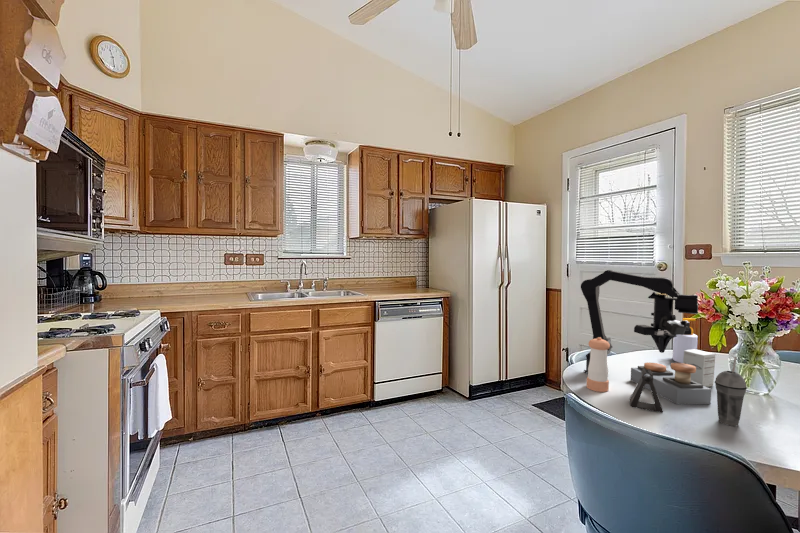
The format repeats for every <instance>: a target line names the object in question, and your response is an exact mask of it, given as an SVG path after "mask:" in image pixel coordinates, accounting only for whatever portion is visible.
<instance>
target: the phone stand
mask: <svg viewBox="0 0 800 533" xmlns="http://www.w3.org/2000/svg"><path fill="white" fill-rule="evenodd" d="M648 372H649V374H650V376H649V377H648V376H647V377H646V376H644V375H645V374H646V370H645V368H644V369H642V370H641V378H640V380H639V382H638V384H637V383H636V386H635V387H634V390H633V392H632V394H631V395H630V397H629V406H630V407H631V408H635V409H639V410H647V411H650V412H655V413H661V414H662V413H664V410H663V406H662V402H661V400H660V397H659V395H658V394H657V392H656V389H655V387H654V384H653V375H652V372H651V370H650V369H648ZM645 384H649V385H650V388H651V391H650V392H651V395H652V399H653V402H654V403H650V402H645V401H641V400H640V399H641V396H642V393H643V391H644V388H645V387H644V386H645Z"/></svg>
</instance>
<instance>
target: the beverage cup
mask: <svg viewBox="0 0 800 533" xmlns="http://www.w3.org/2000/svg"><path fill="white" fill-rule="evenodd" d="M737 359H738V358H737V356H734V359H733V363H732V369H731V370H724V371H721V372H720V373H718V374H717V375H716V377H715V381H714V384H715V390H716V402H717V405H716V406H717V417H718V422H719V423H721V424H723V425H727V426H731V427H738V426H739V423H740V419H741V414H742V410H743V402H744V396H745V395H746V391H747V389H748V388H747V382H746V380H745V378H744V377H743V376H742V375H740V374H739V373H738V372H735V371H736V370H735V369H736V364H737Z"/></svg>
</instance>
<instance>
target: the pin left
mask: <svg viewBox="0 0 800 533" xmlns="http://www.w3.org/2000/svg"><path fill="white" fill-rule="evenodd" d="M643 366H644V368H645V369H647V370H648V369H650V370H651V371H653V372H666V370H667V365H664V364H662V363H661V364H660V363H658V362H644V363H643Z"/></svg>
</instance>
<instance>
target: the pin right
mask: <svg viewBox="0 0 800 533" xmlns="http://www.w3.org/2000/svg"><path fill="white" fill-rule="evenodd" d="M670 370H673V371H674V374H675V382H678V383H680V384H690V381H691V373H696V367H695V366H693V365H689V364H685V363H678V362H671V363H670Z"/></svg>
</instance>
